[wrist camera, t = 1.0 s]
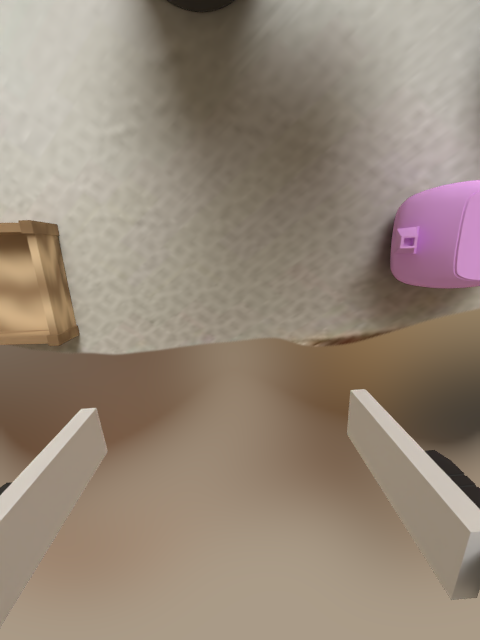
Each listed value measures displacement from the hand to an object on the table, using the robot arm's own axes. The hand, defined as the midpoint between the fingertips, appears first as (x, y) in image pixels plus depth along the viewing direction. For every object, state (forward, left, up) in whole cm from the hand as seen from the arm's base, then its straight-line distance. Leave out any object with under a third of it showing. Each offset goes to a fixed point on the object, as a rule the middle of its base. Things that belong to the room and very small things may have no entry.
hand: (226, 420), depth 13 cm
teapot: (-10, +28, -25) cm, 39 cm away
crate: (-5, -30, -25) cm, 39 cm away
